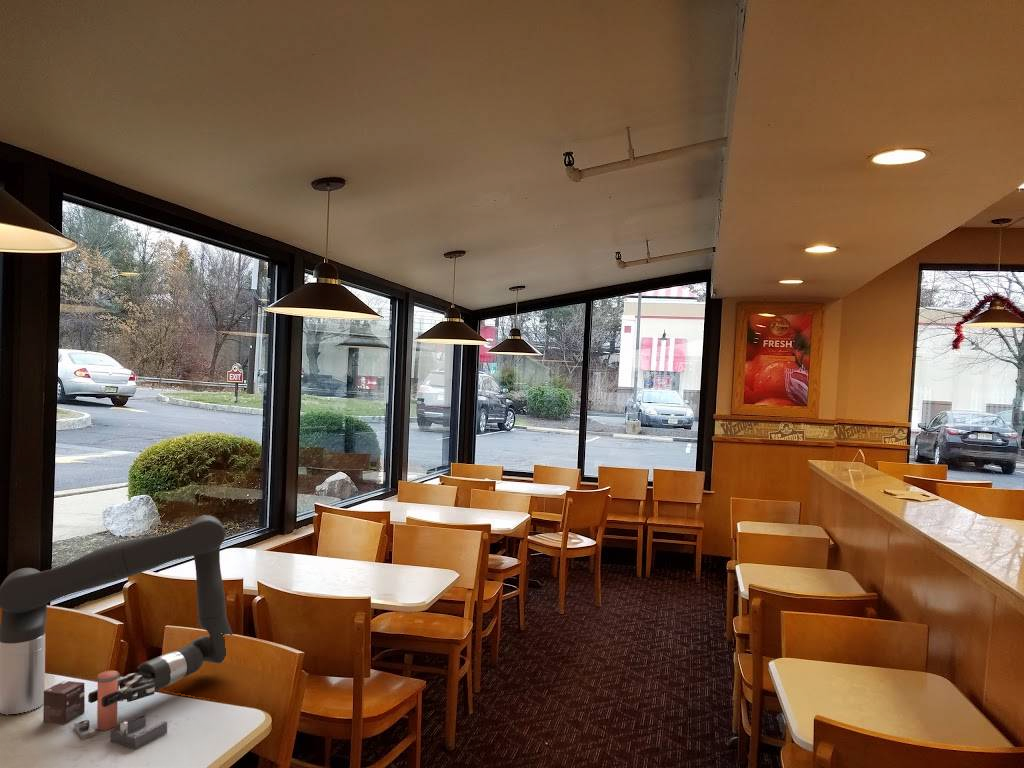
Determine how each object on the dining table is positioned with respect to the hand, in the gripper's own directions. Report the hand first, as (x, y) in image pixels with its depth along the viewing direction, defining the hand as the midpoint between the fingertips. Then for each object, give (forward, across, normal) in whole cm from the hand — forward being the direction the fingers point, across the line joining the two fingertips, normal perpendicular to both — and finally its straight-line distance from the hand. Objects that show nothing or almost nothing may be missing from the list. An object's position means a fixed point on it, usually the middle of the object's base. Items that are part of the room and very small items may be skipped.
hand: (96, 700), depth 156 cm
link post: (-3, 0, +7) cm, 8 cm away
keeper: (-3, +11, +7) cm, 13 cm away
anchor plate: (+1, -2, +7) cm, 8 cm away
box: (-1, -13, +8) cm, 15 cm away
